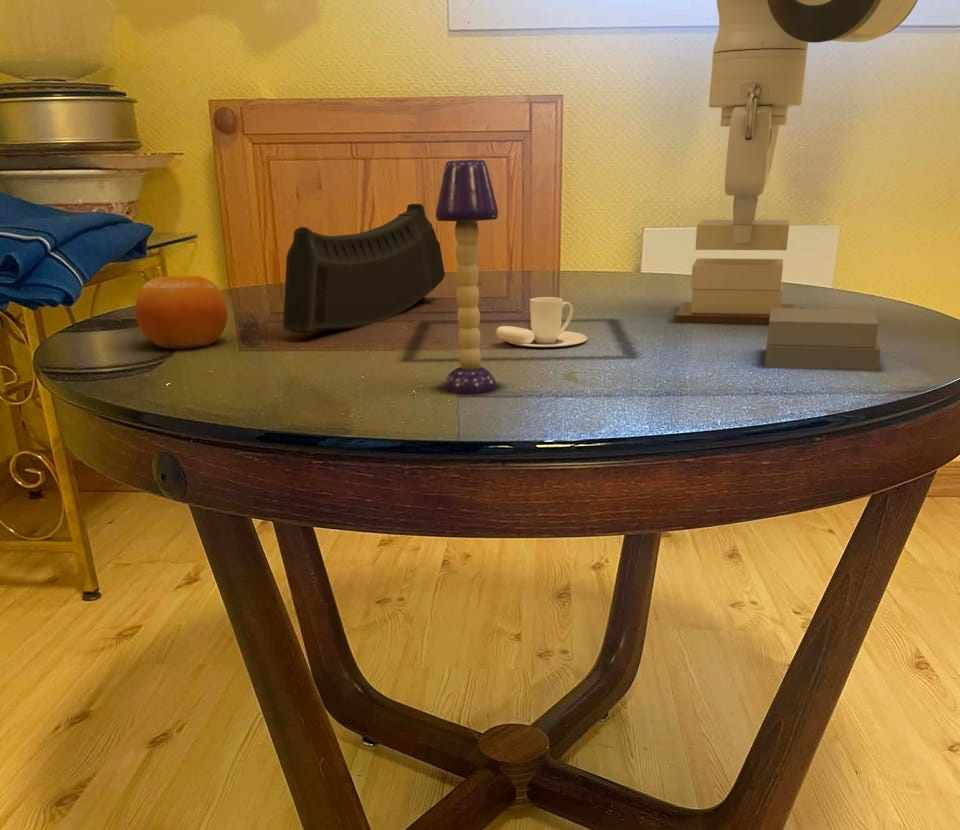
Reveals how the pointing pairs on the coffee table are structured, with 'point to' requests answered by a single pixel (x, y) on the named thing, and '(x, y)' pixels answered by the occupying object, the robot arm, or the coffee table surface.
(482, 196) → the toy lamp
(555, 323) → the teacup and saucer
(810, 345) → the brown rectangular block
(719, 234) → the tan flat block
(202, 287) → the fruit
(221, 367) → the coffee table surface
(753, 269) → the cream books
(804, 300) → the coffee table surface
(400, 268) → the magazine
